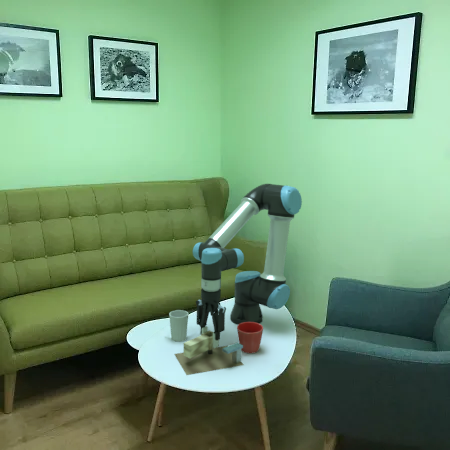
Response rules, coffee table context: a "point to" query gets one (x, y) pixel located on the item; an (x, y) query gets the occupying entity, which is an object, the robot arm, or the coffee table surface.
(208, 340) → the link
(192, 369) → the board
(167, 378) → the coffee table surface
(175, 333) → the cup
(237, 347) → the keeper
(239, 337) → the flower pot
